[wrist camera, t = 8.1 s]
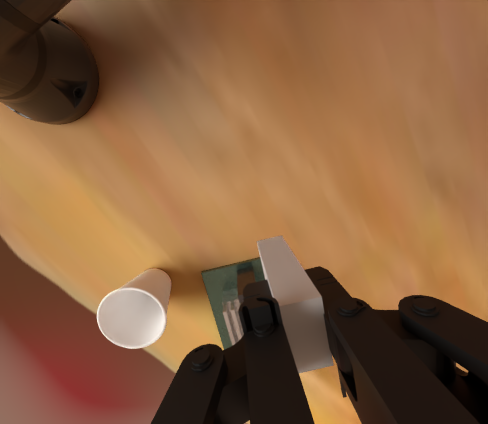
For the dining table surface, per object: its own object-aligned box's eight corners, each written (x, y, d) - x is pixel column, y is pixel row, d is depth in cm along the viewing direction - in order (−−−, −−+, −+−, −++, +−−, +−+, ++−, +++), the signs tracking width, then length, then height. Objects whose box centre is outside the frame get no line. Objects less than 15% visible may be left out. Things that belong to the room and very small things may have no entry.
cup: (189, 297, 47) (176, 338, 36) (140, 312, 47) (113, 357, 37) (171, 251, 45) (151, 279, 34) (120, 266, 45) (84, 299, 35)
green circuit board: (201, 271, 46) (193, 301, 36) (284, 251, 46) (298, 275, 36) (228, 359, 50) (226, 408, 40) (304, 341, 50) (322, 385, 40)
